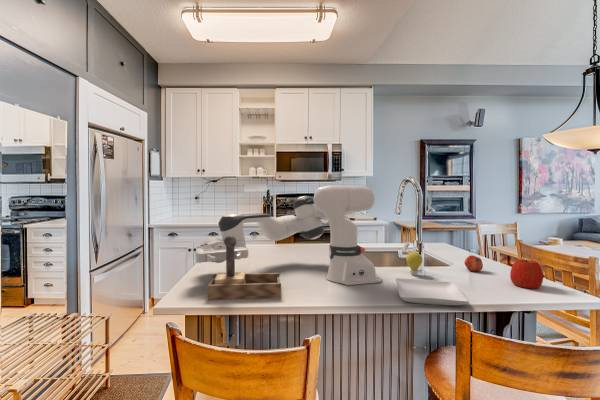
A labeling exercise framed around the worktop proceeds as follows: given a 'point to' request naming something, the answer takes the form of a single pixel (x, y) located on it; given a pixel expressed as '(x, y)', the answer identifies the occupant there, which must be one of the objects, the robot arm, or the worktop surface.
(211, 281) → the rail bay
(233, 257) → the knobbed upright rod
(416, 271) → the light bulb
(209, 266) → the worktop surface
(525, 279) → the apple
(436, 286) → the salad plate
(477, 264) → the pomegranate
